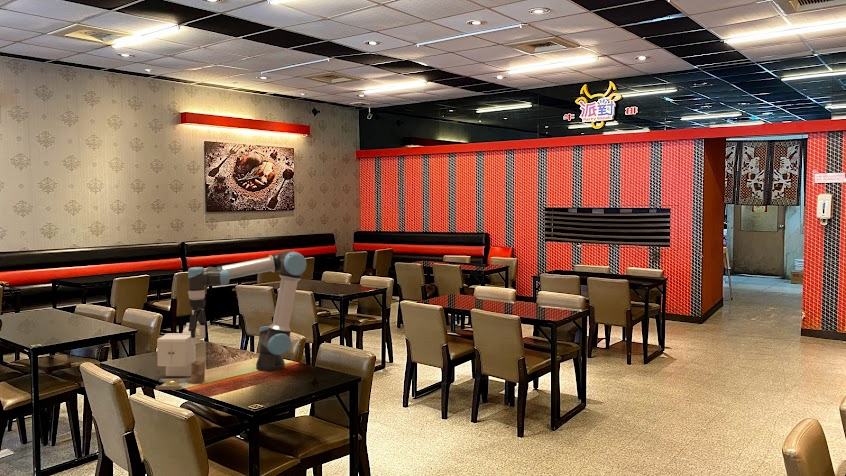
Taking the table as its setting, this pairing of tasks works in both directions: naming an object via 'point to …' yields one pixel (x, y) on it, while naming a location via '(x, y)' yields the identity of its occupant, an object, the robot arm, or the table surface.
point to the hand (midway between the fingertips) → (198, 341)
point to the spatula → (193, 374)
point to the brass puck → (172, 382)
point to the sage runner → (164, 387)
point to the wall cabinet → (176, 353)
